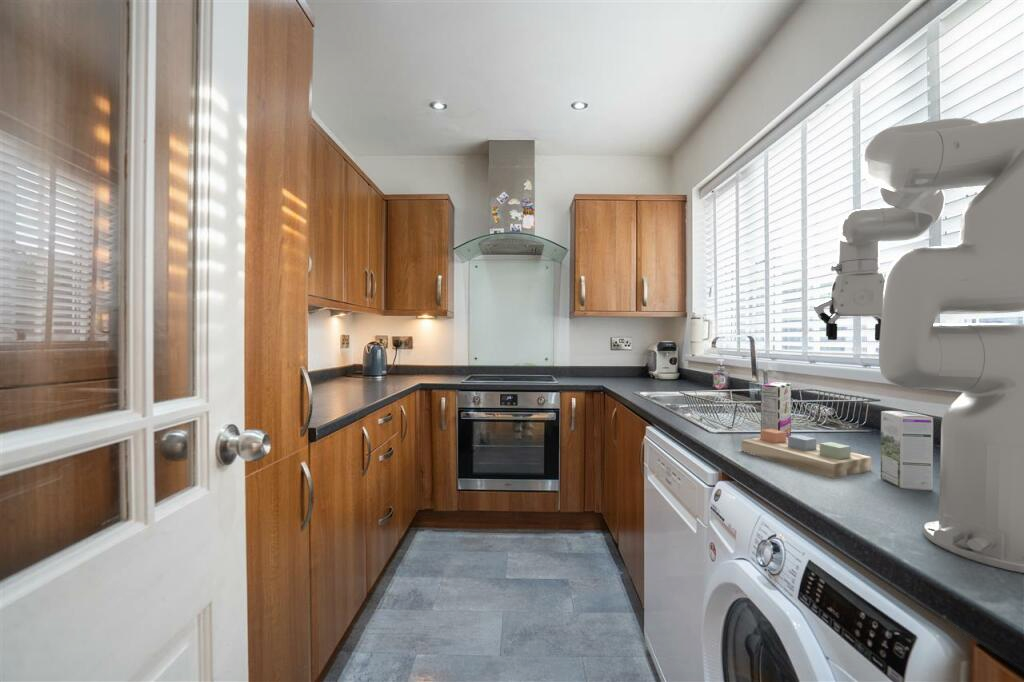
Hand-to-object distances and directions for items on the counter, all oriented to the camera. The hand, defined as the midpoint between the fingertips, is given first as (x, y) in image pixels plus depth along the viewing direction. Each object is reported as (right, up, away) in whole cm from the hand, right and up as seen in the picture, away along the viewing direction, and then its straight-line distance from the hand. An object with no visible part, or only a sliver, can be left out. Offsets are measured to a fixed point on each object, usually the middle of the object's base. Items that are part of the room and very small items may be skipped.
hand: (855, 340), depth 97 cm
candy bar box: (-8, -29, +18) cm, 35 cm away
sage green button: (-11, -27, -7) cm, 30 cm away
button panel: (-14, -29, -1) cm, 32 cm away
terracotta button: (-16, -26, +6) cm, 32 cm away
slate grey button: (-14, -27, -1) cm, 30 cm away
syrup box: (-4, -30, -16) cm, 34 cm away
